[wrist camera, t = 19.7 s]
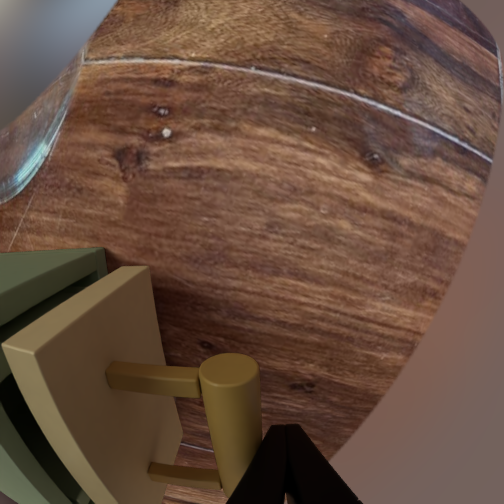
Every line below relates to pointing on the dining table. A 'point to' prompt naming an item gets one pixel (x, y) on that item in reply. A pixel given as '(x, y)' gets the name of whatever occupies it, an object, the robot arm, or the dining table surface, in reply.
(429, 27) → the dining table surface
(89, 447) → the drawer
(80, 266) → the cabinet
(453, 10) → the dining table surface
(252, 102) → the dining table surface
